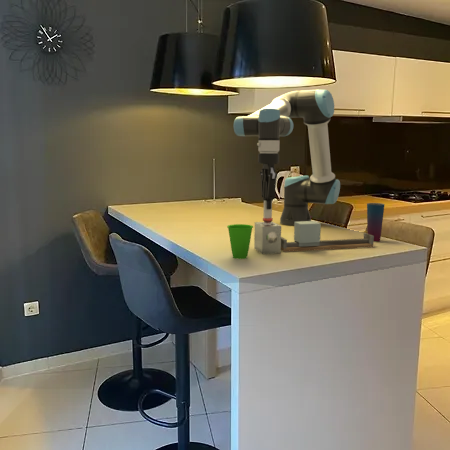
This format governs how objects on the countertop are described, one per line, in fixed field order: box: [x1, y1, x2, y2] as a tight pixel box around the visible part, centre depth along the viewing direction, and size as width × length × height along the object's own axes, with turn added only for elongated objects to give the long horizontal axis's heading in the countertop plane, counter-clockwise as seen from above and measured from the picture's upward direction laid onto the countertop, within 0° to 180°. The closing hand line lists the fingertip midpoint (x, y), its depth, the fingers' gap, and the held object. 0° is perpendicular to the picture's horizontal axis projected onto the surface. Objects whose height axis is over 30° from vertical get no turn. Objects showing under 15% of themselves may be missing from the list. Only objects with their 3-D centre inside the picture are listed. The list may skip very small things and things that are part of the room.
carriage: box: [293, 220, 322, 247], centre depth 187 cm, size 6×8×8 cm
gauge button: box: [262, 218, 274, 225], centre depth 183 cm, size 4×4×8 cm
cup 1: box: [227, 223, 254, 260], centre depth 173 cm, size 9×9×11 cm
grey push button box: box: [253, 221, 282, 255], centre depth 183 cm, size 11×7×10 cm, turn 13°
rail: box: [281, 232, 374, 253], centre depth 189 cm, size 6×36×4 cm, turn 103°
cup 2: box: [366, 202, 385, 242], centre depth 202 cm, size 7×7×15 cm
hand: (267, 217), depth 182 cm, fingers closed
